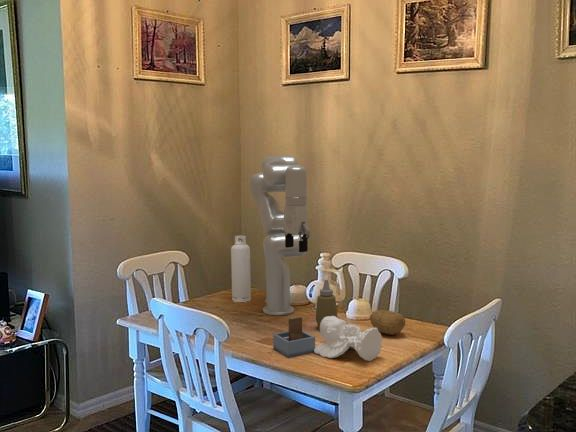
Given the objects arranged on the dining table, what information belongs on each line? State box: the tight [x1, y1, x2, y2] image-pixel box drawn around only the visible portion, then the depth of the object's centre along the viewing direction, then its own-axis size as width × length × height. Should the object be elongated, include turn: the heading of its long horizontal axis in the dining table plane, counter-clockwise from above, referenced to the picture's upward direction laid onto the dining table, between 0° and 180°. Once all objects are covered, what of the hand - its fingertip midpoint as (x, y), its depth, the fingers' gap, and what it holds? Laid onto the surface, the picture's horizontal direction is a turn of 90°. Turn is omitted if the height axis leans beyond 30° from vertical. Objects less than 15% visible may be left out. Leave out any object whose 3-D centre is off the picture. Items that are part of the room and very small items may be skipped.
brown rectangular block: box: [288, 315, 303, 341], centre depth 197 cm, size 2×4×10 cm, turn 120°
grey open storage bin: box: [272, 330, 316, 359], centre depth 197 cm, size 10×10×5 cm
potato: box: [369, 309, 406, 335], centre depth 214 cm, size 10×14×8 cm
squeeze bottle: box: [315, 279, 338, 330], centre depth 219 cm, size 8×8×18 cm
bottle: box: [230, 235, 252, 303], centre depth 260 cm, size 8×8×28 cm
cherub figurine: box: [313, 316, 383, 362], centre depth 192 cm, size 13×12×20 cm
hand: (296, 249), depth 215 cm, fingers open, 9 cm apart
